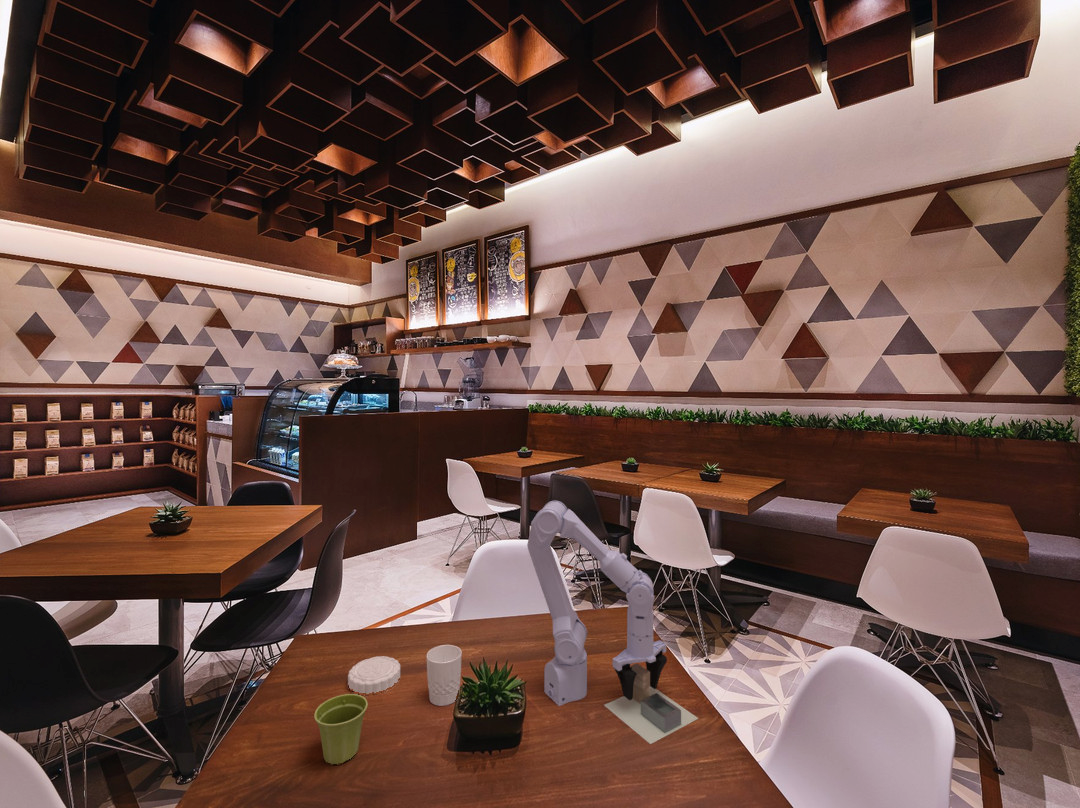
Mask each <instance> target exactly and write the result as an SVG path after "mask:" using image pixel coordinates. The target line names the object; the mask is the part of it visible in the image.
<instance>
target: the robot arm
mask: <svg viewBox="0 0 1080 808" xmlns="http://www.w3.org/2000/svg"><path fill="white" fill-rule="evenodd" d="M559 533H560V534H559ZM558 534H559V538H562V539H574V540H575V541H576V542H577V543H578V544H579V545H580V546H581V547H582V548H584V550H586V551H587V552H588V553H589V554H591V555H592V557H594V558H595V559H596V560H597V561H598V562H599V567H600V571H601V572H603V574H604V575H605V576H606V577H607V578H608V579H610V581H611V582H612V583H613V584H614V585H615V586H617V587H618V588H619V589H620V590H621V591H622V592H625V597H626V601H627V602H628V607H627V610H626V612H627V613H626V614H627V615H626V618H627V619H626V620H627V621H626V623H627V625H626V627H627V629H626V630H627V631H626V632H627V633H626V634H627V635H626V641H627V643H626V644H627V645H626V648H625V649H624V650H623V651H621V652H620V653H619V654H618V655H617V656H615V657H613V658H612V668H613V670H614V671H615V673H616V674H617V678H618V680H619V683H620V686H621V690H622V694H623V696H624V697H626V698H627V699H628V700H632V698H633V685H634V680H635V677H636V674H637V673H636V672H635V671H633V670H632V667H631V665H633V664H637V663H638V664H639V663H645V669H647V670H648V671H650V687H652V688H653V689H657V687H658V683H659V680H660V676H661V673H662V670H663V669H664V667H665V665H666V664H667V662H668V657H667V656H666V655H664V654H665V653H666V652H667V643H666V642H664V641H662V640H656V641H654V610H653V609H654V601H655V595H654V584H653V581H652V579H651V577H650V576H649V575H648V574H647V573H645V572H644V571H642V570H641V569H639V570H638V569H637V568H636V567H635V566H634V565H633V564H632V563H631V562H630V561H629V560H628V559H627V558H628V555H626V554H625V553H624V552H622V553H621V552H619V550H611V549H609V548H608V547H607V546H606V545H605V544H604V543H603V542H602V541H601V540H600V539H599V538H598V537H597V536H596V535H595V534H594V533H593V532H592V530H590V529H589V527H588V526H586V524H585V523H584V522H583V521H582V520H581V519H580V518H579V517H578V516H577V515H576V513H575V512H574V511H572V510H571V509H570V508H568V507H567V506H566V504H564V503H563V502H562V501H559V500H551V501H549V502H547V503H545V505H544V506H543V507H542V509H540V510H539V511H538V512H537V513H536V514H535V516H534V518H533V519H532V521H531V522H530V530H529V536H528V540H527V545H526V546H527V550H528V554H529V556H530V558H531V562H532V563H533V564H532V565H533V567H534V570H535V573H536V576H537V578H538V581H539V582H538V583H539V585H540V587H541V590H542V594H543V597H544V599H545V603H546V605H547V608H548V611H549V614H550V616H551V620H552V637H553V639H554V647H553V648H554V654H555V656H554V657H553V658H552V659H551V660H550V661H548V662H547V663H546V664H544V676H543V678H544V681H543V682H544V688H543V689H544V691H543V692H544V693H545V695H547V696H548V697H549V698H550V699H551V700H552V701H553V702H554V703H555V704H556V705H557V706H558V707H560V706H563V705H565V704H567V703H570V702H574V701H579V700H582V699H584V698H585V697H586V696H587V694H588V686H587V685H588V655H587V654H588V653H587V651H586V650H585V647H584V646H585V643H586V640H587V637H588V630H587V627H586V625H585V624H584V623H583V622H582V621H581V620H580V618H579V616H578V613H577V612H576V610H574V609H573V607H572V604H571V602H570V601H571V600H570V599H569V596H568V593H567V590H566V587H565V584H564V581H563V578H562V576H561V573H560V570H559V567H558V563H557V561H556V558H555V555H554V553H553V550H552V546H551V544H552V542H553V540H554V538H555V536H557V535H558Z"/></svg>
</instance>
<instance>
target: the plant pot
mask: <svg viewBox="0 0 1080 808" xmlns="http://www.w3.org/2000/svg"><path fill="white" fill-rule="evenodd" d="M367 708H368V700H367V698H366V697H365V696H361V695H358V694H353V693H345V694H341V695H336V696H334V697H330V698H329V699H327V700H325V701H324V702H323V703H321V704H319V705H318V707H317V708H316V710H315V712H314V716H313V717H314V720H315V722H316V724H317V727H318V728H319V735H320V741H321V747H322V755H323V759H324V760H325V762H326V763H327V762H328V763H332V764H331V765H333V764H337V765H339V764H338V763H342V764H343V763H345V762H346V761H350V760H352V759H353V758H354V757H355V756H356V755H357V754H356V752H357V751H359V748H360V746H359V745H360V739H361V731H362V727H363V726H362V725H363V720H364V716H365V714H366V713H365V712H366V711H367ZM357 753H358V752H357ZM355 754H356V755H355ZM354 755H355V756H354ZM353 756H354V757H353ZM352 757H353V758H352ZM351 758H352V759H351ZM349 759H350V760H349ZM328 763H327V764H328Z"/></svg>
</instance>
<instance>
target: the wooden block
mask: <svg viewBox="0 0 1080 808" xmlns="http://www.w3.org/2000/svg"><path fill="white" fill-rule="evenodd" d="M630 667H632V670H633V671H635V672H636V673H637V674H636V677H635V680H634V685H633V699H634V700H636V701H637V702H638V703H639V704H641V700H643V699H645V698H647V697H649V696H650V671H648V670H647V668H646V667H644V666H642V665H641V664H639V662H638V663H633V664H631V665H630Z"/></svg>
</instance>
